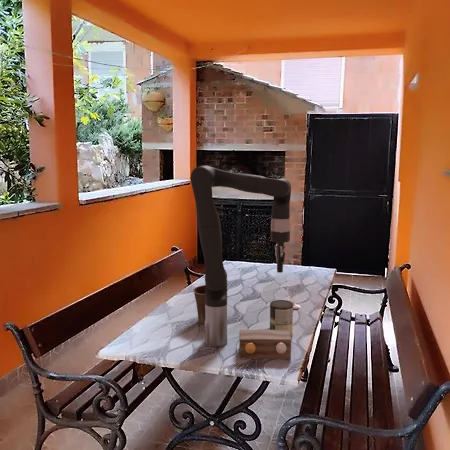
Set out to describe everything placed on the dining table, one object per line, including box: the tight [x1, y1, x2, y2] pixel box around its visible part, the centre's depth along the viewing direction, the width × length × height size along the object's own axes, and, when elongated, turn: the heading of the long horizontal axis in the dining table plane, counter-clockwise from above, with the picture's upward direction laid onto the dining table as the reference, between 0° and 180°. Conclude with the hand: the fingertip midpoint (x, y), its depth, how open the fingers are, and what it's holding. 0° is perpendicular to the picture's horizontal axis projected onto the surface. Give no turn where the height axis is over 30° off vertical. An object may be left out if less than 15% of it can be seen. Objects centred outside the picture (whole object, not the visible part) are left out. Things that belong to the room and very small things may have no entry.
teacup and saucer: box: [289, 298, 301, 310], centre depth 252 cm, size 9×8×4 cm
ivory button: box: [276, 342, 286, 354], centre depth 190 cm, size 6×4×4 cm, turn 0°
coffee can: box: [269, 299, 294, 337], centre depth 214 cm, size 10×10×14 cm
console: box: [238, 329, 292, 360], centre depth 194 cm, size 10×20×8 cm, turn 90°
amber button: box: [245, 342, 256, 354], centre depth 191 cm, size 6×4×4 cm, turn 0°
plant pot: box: [192, 284, 229, 326], centre depth 229 cm, size 16×16×16 cm
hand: (279, 272), depth 193 cm, fingers closed
